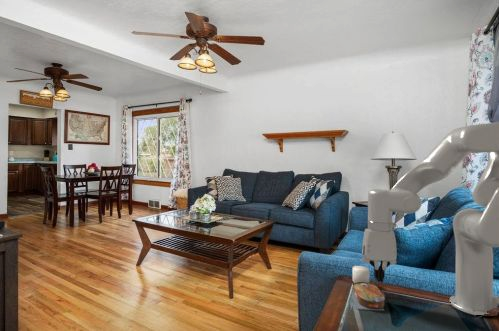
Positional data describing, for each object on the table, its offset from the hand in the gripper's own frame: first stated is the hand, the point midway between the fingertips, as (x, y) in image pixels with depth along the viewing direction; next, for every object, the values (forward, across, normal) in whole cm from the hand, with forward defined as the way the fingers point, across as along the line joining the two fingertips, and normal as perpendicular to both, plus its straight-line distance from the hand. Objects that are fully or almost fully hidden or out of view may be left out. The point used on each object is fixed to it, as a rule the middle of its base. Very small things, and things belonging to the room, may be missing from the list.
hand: (379, 280), depth 98 cm
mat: (+7, +5, 0) cm, 8 cm away
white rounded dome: (+7, +2, -13) cm, 15 cm away
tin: (+6, -1, 0) cm, 6 cm away
